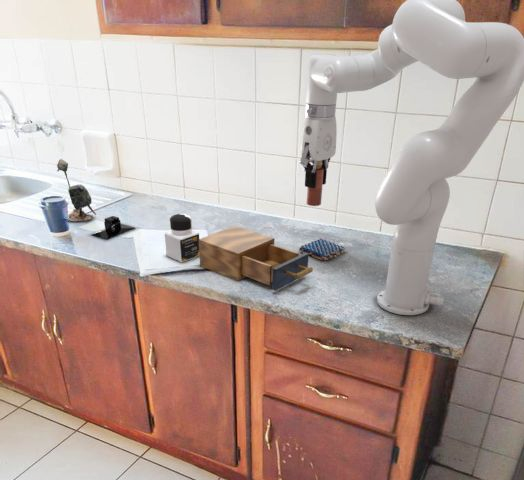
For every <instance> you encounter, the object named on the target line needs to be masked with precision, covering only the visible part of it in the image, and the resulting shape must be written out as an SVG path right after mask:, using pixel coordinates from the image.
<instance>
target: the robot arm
mask: <svg viewBox="0 0 524 480" xmlns="http://www.w3.org/2000/svg"><path fill="white" fill-rule="evenodd" d="M417 62H419V63H421V64H423V65H424V66H426V67H427V68H429V69H431V70H433V71H434V72H435V73H437V74H439V75H441V76H443V77H445V78H448V79H453V80H464V79H473V78H474V79H475V78H476V79H475V80H474V82H473V83H472V85H471V86H469V88H467V90H466V91H465V92H464V93H463V94H462V95H461V96H460V98H458V100H457V101H456V103H455V104H454V106H453V108H452V110H451V111H450V113H449V115H448V116H447V117H446V118H445V120H444V122H443V123H442V124H441V125H440V126H439V127H437V128H436V129H433V130H427V131H423V132H419V133H416V134H415V135H413V136H412V137H410V138H409V139H408V140H407V141H405V143H404V144H403V145H402V147H401V148H400V150H399V151H398V153H397V154H396V156H395V157H394V160H393V162H392V163H391V165H390V166H389V168H388V170H387V172H386V174H385V176H384V177H383V179H382V180H381V182H380V184H379V187H378V189H377V192H376V193H375V194H376V195H375V199H374V201H375V202H374V207H375V213H376V215H377V216H378V218H379V220H381V222H383V223H385V224H387V225H390V226H391V225H392V226H395V229H394V232H393V238H392V243H391V249H390V256H389V261H388V268H387V273H386V274H387V275H386V281H385V286H384V290H381V291H380V292H379V293H378V294H377V297H376V303H377V304H378V306H379V307H380V308H381V309H383V310H385V311H387V312H389V313H392V314H396V315H400V316H401V315H402V316H416V315H421V314H423V313H426V312H427V311H428V310H429V308H430V304H431V305H435V306H440V307H442V306H443V304H444V299H445V298H444V297H440V293H437V292H430V291H429V290H428V289H429V285H428V280H429V276H430V271H431V266H432V261H433V257H434V252H435V248H436V243H437V238H438V233H439V230H440V226H441V223H442V221H443V218H444V215H445V213H446V210H447V208H448V204H449V202H450V195H451V193H450V192H451V191H450V189H451V188H450V185H449V182H448V180H447V179H449V178H452V177H456V176H458V175H459V174H461V173H463V172H464V170H465V169H466V168H467V167H468V165H470V163H471V161H473V158H474V157H475V155H476V154H477V153H478V151H479V149H480V148H481V147H482V146H483V144H484V142H485V141H486V140H487V138H488V137H489V136H490V134H491V132H492V131H493V129H494V128H495V126H496V125H497V123H498V122H499V120H500V119H501V118H502V116H503V115H504V114H505V112H506V111H507V109H509V107H510V106H511V104H512V103H513V101H514V100H515V98H516V97H517V95H518V94H519V92H520V90H521V87H522V86H523V83H524V35H522V33H521V32H520V31H519V30H518V28H516V27H515V26H513V25H510V24H509V23H505V22H497V21H495V22H494V21H486V22H485V21H483V22H473V21H471V22H470V21H466V13H465V10H464V7H463V6H462V4H460V2H459V1H458V0H405V1H404V2H403V3H402V4H400V6H399V8H398V9H397V11H396V12H395V14H394V16H393V20H392V23H391V24H389V25H388V26H386V27H384V29H383V30H382V31H381V33H380V34H379V37H378V41H377V49H374V50H373V51H371V52H368V53H366V54H352V55H350V54H349V55H335V54H325V53H318V54H313V55H310V57H309V58H308V62H307V74H306V75H307V78H306V93H305V111H304V118H305V119H304V123H303V129H302V136H301V146H300V155H301V157H300V160H299V164H300V165H301V166H303V168H304V169H303V171H304V173H305V174H304V176H305V177H304V187H306V188H307V187H310V188H316V177H317V173H315V171H316V165H317V162H318V161H322V166H321V168H323V169H324V173H323V185H322V186H324V185H326V183H327V173H328V168H329V163H330V161H331V158H333V157H334V156H335V155H336V153H337V132H338V131H337V130H338V129H337V117H336V111H337V110H336V109H337V100H338V99H337V98H338V94H344V93H345V94H346V93H352V92H353V93H354V92H365V91H368V90H372V89H374V88H377V87H378V86H380V85H381V86H382V85H383V84H385V83H387V82H389V81H391V80H393V79H395V77H396V76H398V74H399V73H400V72H401V71H402V69H405V68H407V67H409V66H411V65H414V64H416V63H417ZM311 162H313V164H312V165H311Z"/></svg>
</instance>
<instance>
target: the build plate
mask: <svg viewBox="0 0 524 480" xmlns="http://www.w3.org/2000/svg"><path fill="white" fill-rule="evenodd" d="M103 224H104V229H102V230H99V231H96V232H93V233H91V236H93V237H95V238H99V239H102V240H106V241H108V240H110V239H113V238H115V237H118V236H120V235H123V234H126V233H128V232H131V231H133V230H136V227H134V226H131V225H127V224H123V223H121V219H120V217H118V216H115V215H112V216H108V217H106V218H104V222H103Z"/></svg>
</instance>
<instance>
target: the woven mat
mask: <svg viewBox="0 0 524 480" xmlns="http://www.w3.org/2000/svg"><path fill="white" fill-rule="evenodd" d="M298 248H299V249H298V250H299V252H300V253H301V254H303V253H308V254H309V256H312V257H313V258H314V259H318V260H320V261H329V259H332V258H337V256H340V255H341V254H345V252H346V251H345V250H346V248H345V246H343V245H339V244H336V243H334V242H331V241H327V240H326V239H323V238H319V239H316V240H313V241H311V242H308V243H306V244H304V245H303V244H302V245H300V247H298Z"/></svg>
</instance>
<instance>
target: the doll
mask: <svg viewBox="0 0 524 480" xmlns="http://www.w3.org/2000/svg"><path fill="white" fill-rule="evenodd" d="M310 164H311V165H312V164H313V162H310ZM321 166H322V161H318V162H317V165H316V171H315V173H317V177H316V188H310V187H306V188H307V190H306V205H307V206H311V207H318V206H321V205H322V197H323V196H322V195H323V186H324V185H323V173H324V169H323V168H321Z"/></svg>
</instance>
